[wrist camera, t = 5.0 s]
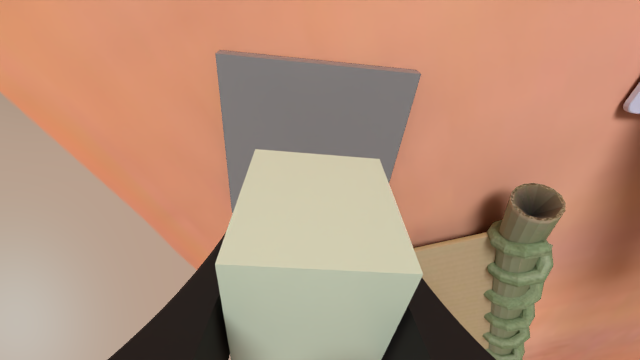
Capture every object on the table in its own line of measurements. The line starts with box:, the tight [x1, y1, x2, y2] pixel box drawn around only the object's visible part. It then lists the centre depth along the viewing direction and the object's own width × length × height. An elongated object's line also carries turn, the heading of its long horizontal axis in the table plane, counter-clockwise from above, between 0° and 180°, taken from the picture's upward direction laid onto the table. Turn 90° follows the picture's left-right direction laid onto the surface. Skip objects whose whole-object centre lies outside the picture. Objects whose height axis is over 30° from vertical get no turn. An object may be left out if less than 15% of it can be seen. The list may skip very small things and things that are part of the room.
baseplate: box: [215, 50, 421, 213], centre depth 17 cm, size 10×10×1 cm
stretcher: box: [413, 183, 565, 360], centre depth 28 cm, size 41×14×5 cm, turn 17°
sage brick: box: [215, 149, 423, 360], centre depth 10 cm, size 4×6×5 cm
